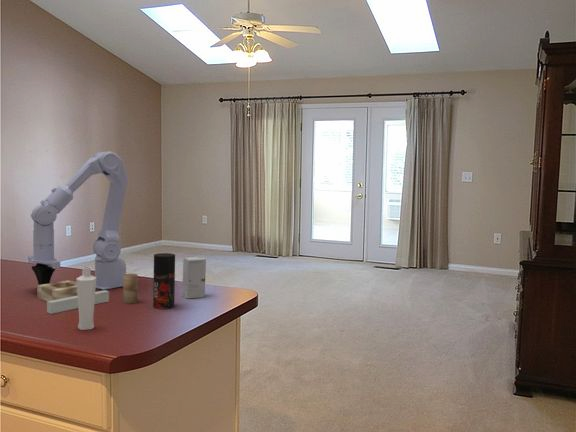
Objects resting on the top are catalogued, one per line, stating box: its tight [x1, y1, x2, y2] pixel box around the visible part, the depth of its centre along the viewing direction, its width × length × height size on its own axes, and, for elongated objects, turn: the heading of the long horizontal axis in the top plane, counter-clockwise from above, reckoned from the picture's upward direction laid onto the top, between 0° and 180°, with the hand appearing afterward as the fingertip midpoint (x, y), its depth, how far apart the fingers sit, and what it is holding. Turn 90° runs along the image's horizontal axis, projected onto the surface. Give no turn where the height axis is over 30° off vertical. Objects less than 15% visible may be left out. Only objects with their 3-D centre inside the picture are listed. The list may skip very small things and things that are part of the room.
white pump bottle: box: [75, 266, 97, 331], centre depth 127 cm, size 5×4×15 cm
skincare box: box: [181, 256, 207, 299], centre depth 162 cm, size 6×4×12 cm
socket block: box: [36, 279, 78, 303], centre depth 154 cm, size 10×10×4 cm
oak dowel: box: [122, 273, 139, 304], centre depth 153 cm, size 4×4×8 cm
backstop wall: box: [46, 289, 110, 315], centre depth 146 cm, size 18×2×3 cm, turn 145°
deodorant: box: [152, 252, 176, 310], centre depth 149 cm, size 6×6×15 cm
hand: (44, 288), depth 159 cm, fingers closed
